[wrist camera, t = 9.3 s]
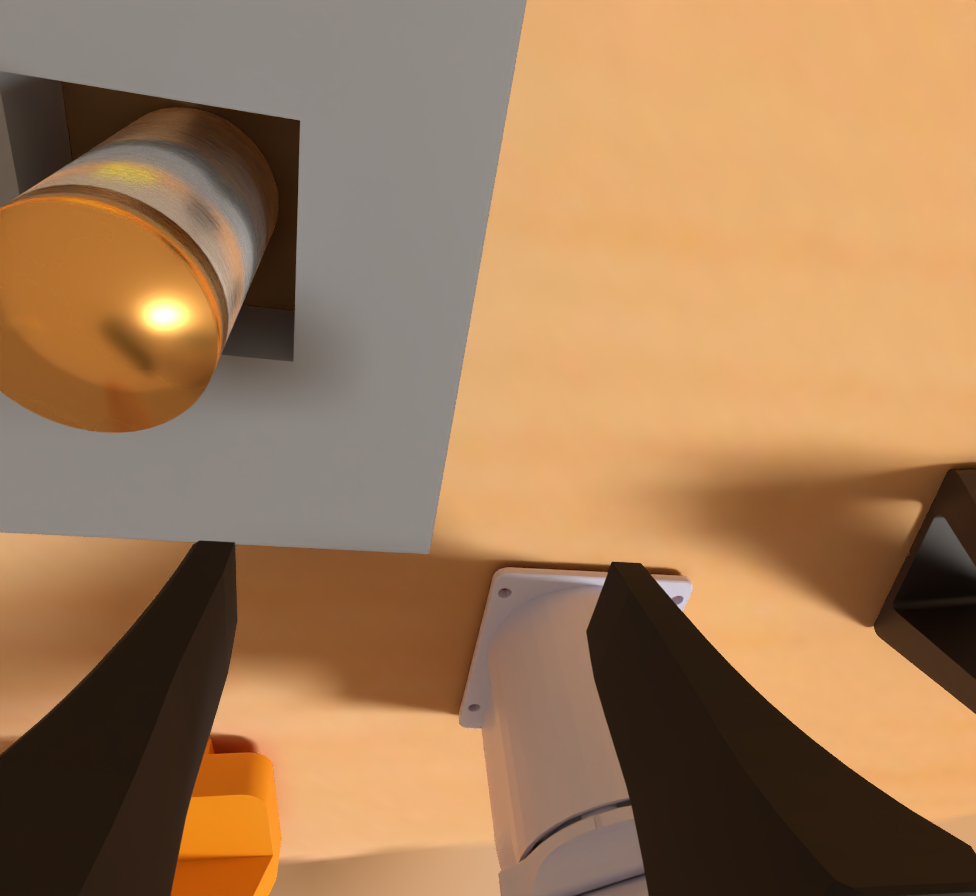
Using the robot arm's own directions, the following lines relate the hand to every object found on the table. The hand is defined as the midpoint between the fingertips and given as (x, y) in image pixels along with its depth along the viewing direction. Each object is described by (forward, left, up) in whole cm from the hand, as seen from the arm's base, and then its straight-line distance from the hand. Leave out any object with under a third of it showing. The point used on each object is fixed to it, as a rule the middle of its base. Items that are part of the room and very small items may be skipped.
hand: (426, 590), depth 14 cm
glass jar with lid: (+4, +6, -9) cm, 12 cm away
